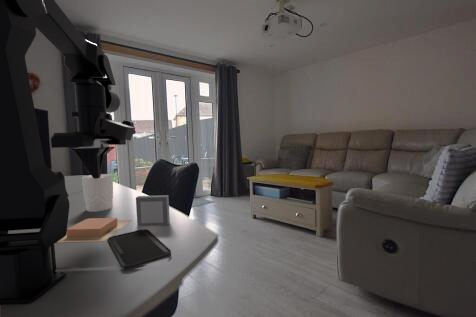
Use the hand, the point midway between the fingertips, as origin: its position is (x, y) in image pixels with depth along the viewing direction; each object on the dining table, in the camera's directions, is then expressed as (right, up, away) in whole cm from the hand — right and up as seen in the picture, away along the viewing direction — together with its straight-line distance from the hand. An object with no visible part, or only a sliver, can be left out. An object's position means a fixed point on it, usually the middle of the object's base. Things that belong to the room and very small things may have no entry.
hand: (96, 178), depth 56 cm
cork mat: (0, -12, -1) cm, 12 cm away
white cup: (-9, -11, +17) cm, 22 cm away
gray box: (+12, -11, +2) cm, 17 cm away
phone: (+13, -13, -10) cm, 21 cm away
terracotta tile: (0, -10, +2) cm, 10 cm away
